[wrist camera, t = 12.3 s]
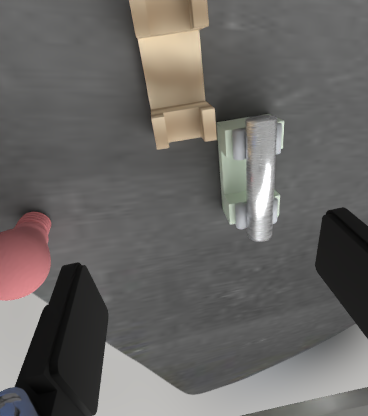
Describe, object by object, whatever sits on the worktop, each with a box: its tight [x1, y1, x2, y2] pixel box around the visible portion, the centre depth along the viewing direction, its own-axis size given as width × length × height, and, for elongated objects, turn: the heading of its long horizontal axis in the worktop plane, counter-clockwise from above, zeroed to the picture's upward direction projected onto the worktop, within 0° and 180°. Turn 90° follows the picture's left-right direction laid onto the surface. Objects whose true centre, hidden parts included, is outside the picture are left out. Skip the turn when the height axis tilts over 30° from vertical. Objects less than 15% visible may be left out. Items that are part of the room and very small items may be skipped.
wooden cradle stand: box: [129, 0, 217, 150], centre depth 26 cm, size 12×6×6 cm, turn 8°
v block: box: [217, 114, 284, 229], centre depth 32 cm, size 12×6×5 cm, turn 8°
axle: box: [245, 115, 277, 241], centre depth 30 cm, size 14×3×3 cm, turn 7°
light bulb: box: [0, 212, 51, 300], centre depth 30 cm, size 7×7×12 cm
